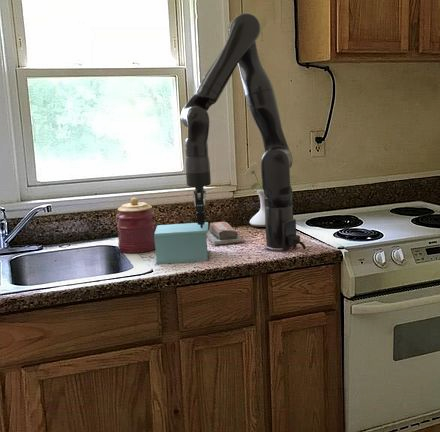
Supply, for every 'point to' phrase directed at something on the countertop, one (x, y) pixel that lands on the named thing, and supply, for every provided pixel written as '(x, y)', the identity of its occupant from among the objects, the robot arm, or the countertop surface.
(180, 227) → the freezer lid
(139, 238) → the kitchen canister
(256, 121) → the robot arm
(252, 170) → the flower in vase
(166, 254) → the box
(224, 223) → the packaged product
